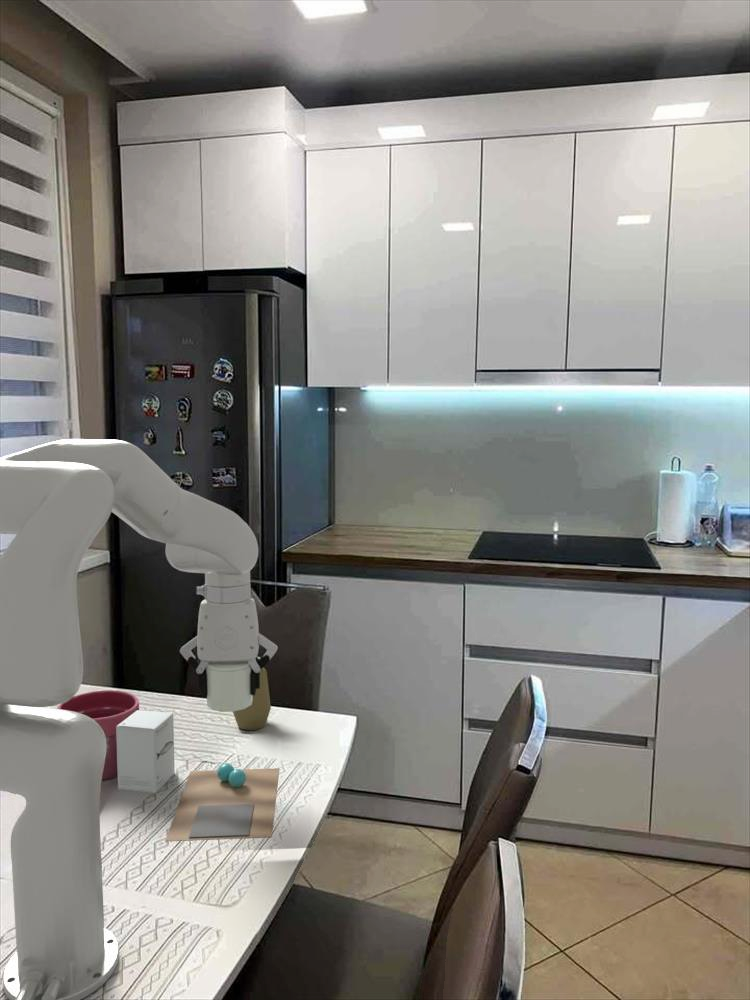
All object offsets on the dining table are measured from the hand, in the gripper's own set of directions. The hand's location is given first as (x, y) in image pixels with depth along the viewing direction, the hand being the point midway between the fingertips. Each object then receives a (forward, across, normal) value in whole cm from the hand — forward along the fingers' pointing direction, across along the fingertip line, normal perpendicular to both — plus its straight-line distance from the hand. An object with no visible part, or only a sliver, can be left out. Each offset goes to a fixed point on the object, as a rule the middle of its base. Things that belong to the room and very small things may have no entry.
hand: (229, 692), depth 127 cm
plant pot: (+18, -25, +9) cm, 32 cm away
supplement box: (+18, -15, +2) cm, 24 cm away
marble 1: (+15, -1, +1) cm, 15 cm away
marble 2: (+15, +1, -1) cm, 15 cm away
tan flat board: (+18, 0, -6) cm, 19 cm away
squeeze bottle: (+18, +1, +27) cm, 33 cm away
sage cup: (+2, 0, 0) cm, 2 cm away
